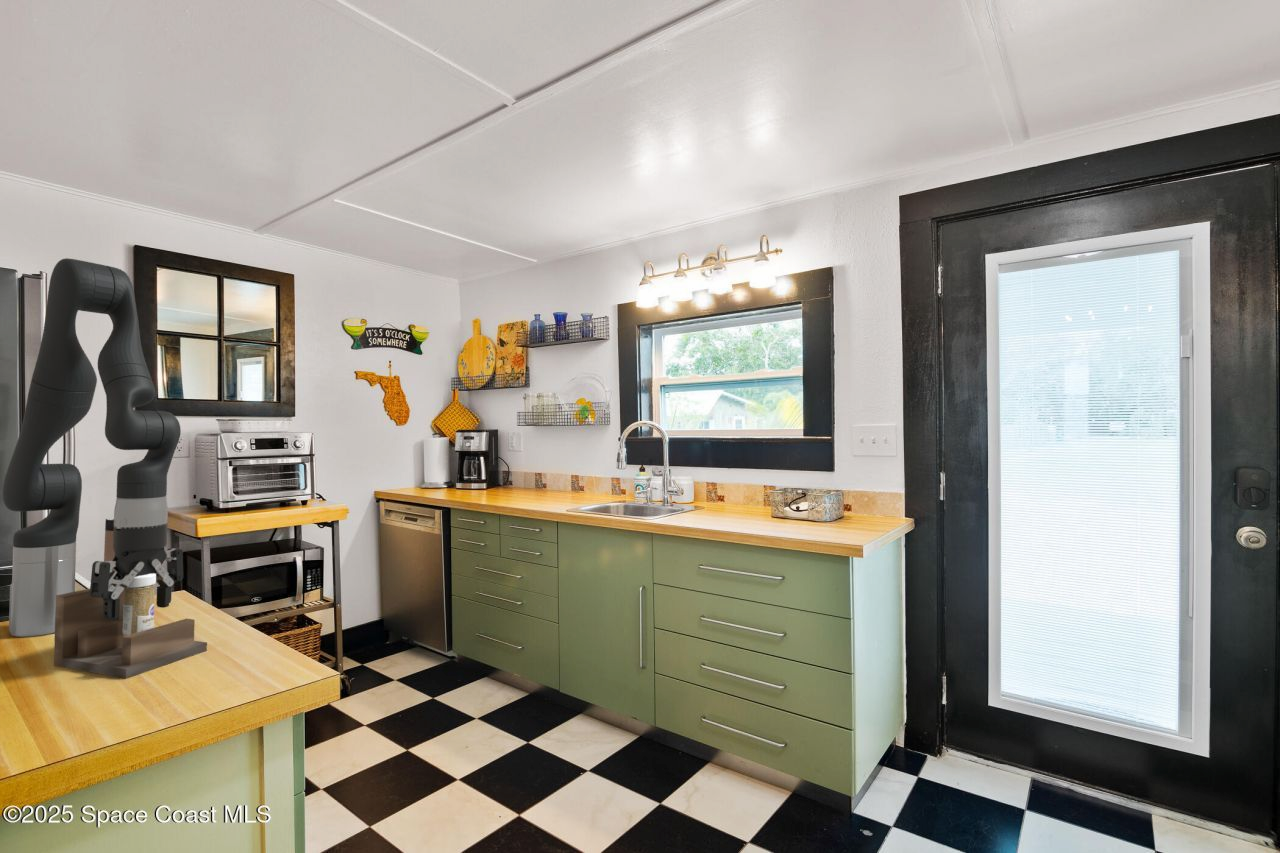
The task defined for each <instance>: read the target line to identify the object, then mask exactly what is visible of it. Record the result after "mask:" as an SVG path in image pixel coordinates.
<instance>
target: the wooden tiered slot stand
mask: <svg viewBox="0 0 1280 853" xmlns="http://www.w3.org/2000/svg"><path fill="white" fill-rule="evenodd" d="M124 591H125V590H123V591H122V592H121V594H120V595H119V597H118V599H120V611H119V619H118V620H116V621H109V620H106V618H104V616H103V599H102V598H98V597H91V596H90V588H86V589H82V590H81V589H80V590H75V592H70V593H66V594H61V595H56V610H55V633H54V646H53V648H54V649H53V650H54V651H53V652H54V653H53V654H54V655H53V666H54V667H61V668H66V669H70V670H76V671H83V672H88V673H93V674H98V675H105V676H110V677H116V678H121V679H129V678H131V677H135V676H137V675H138V676H139V675H140V674H143V673H145V672H149V671H152V670H154V669H157V668H162V667H163V666H166V665H169V664H172V663H175V662H178V661H181V660H184V659H186V658H190V657H192V656H195V655H198V654H200V653H204V652H206V651H207V650H208V649H207V648H208V642H205V641H199V640H195V619H191V618H184V619H179V620H176V621H173V622H169V623H166V624H163V625H159V626H154V628H152V629H148V630H145V631H141V632H138V633H134V634H131V635H127V636H124V637H123V605H124Z"/></svg>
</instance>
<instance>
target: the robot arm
mask: <svg viewBox="0 0 1280 853" xmlns="http://www.w3.org/2000/svg"><path fill="white" fill-rule="evenodd" d="M136 303H137V302H136V297H135V291H134V286H133V283H132V281H131V277H129V275H128V273H127V272H125V271H124V270H122V269H121V268H117V267H114V266H109V265H105V264H100V263H95V262H90V261H84V260H81V259H80V260H79V259H75V258H62V259H60V260H59V261H58V262H57V263H56V264H55V265H54V268H53V269H52V272H51V275H50V279H49V286H48V292H47V301H46V308H45V317H44V324H43V325H44V326H43V332H42V336H41V341H40V346H39V351H38V355H37V358H36V362H35V365H34V369H33V373H32V376H31V379H30V384H29V389H28V394H27V399H26V404H25V410H24V415H23V419H22V424H21V428H20V432H19V435H18V439H17V442H16V445H15V447H14V449H13V450H14V451H13V452H12V456H11V458H10V461H9V464H8V467H7V470H6V473H5V477H4V480H3V486H2V502H3V505H4V506H5V507H6V508H7V509H8V510H10V511H12V512H37V511H38V512H39V511H49V513H48V514H47V516H46V517H44V518H43V519H42V520H40V521H38V522H35V523H34V524H32V525H29V526H25V527H23V528H21V529H17V531H16V532H14V534H13V536H12V538H13V539H12V574H11V576H12V580H11V583H10V584H9V585H10V586H9V616H8V632H9V633H10V636H12V637H20V638H22V637H34V636H35V637H36V636H43V635H44V636H45V635H51V634H53V633H54V634H55V610H56V595H61V594H66V593H70V592H75V591H76V560H77V558H76V557H77V556H76V555H77V554H76V552H77V533H78V528H79V524H80V509H81V508H80V507H81V499H82V489H83V485H82V484H83V481H82V475H81V472H80V470H79V468H78V467H77V466H76V465H75V464H71V463H43V461H44V459H45V456H46V455H47V454H48V452H49V450H50V449H51V448H52V447H53V445H54V444H55V443H57V441H59V440H60V439H61V438H62V437H64V436H65V435H66V434H67V433H68V432H70V431H71V430H72V429H73V428H74V427H76V425H77V424H78V423H80V422H81V421H82V420H83V419H84V418H85V417H86V416H87V415H88V413H89V412H90V409H91V407H92V403H93V400H94V396H95V393H96V387H97V383H98V379H97V374H96V371H95V368H94V366H93V365H92V363H91V361H90V359H89V357H88V356H87V354H86V352H85V350H84V349H83V347H82V346H81V343H80V341H79V338H78V336H77V329H76V328H77V327H76V319H77V315H78V312H79V311H81V312H86V313H87V312H88V313H95V314H103V315H108V316H109V318H110V319H111V323H112V331H111V332H110V334H109V336H108V338H107V340H106V341H105V343H104V345H103V346H102V348H101V350H100V351H99V353H98V358H97V371H98V374H99V377H100V381H101V384H102V387H103V390H104V392H105V396H106V398H105V400H106V414H105V416H106V417H105V424H104V435H105V438H106V440H107V441H108V442H109V444H110V445H111V446H113V447H114V448H116V449H118V450H121V451H135V450H136V451H138V450H139V451H140V450H141V451H146V450H147V452H146V454H145V456H144V458H142V459H141V460H139V461H136V462H132V463H131V462H130V463H126V464H123V465H122V466H120V467H119V468H118V470H117V475H116V499H115V505H114V510H113V519H114V531H113V549H114V552H115V556H114V558H113V560H112V561H105V562H104V560H103V561H101V560H95V561H94V562H93V563H92V565H91V575H90V577H91V578H90V588H89V589H90V596H91V597H98V598H102V599H103V616H104V618H106V620H109V621H116V620H118V619H119V611H120V599H118V597H119V595H120V594H121V592H122V591H123V590H124V588H126V587H128V586H129V584H130V583H131V582H132V580H133V579H134V577H137V576H142V575H147V574H152V573H155V574H156V584H157V585H158V586H156V607H157V608H168V607H170V604H171V601H172V592H173V591H172V588H173V585H174V584H175V583H176V582H180V581H182V580H183V579H184V555H183V554H184V552H183V551H184V550H183V549H180V548H172V547H171V548H168V549H167V550H165V548H166V546H167V544H168V515H169V514H168V512H169V507H168V501H167V500H168V499H167V495H168V494H167V492H168V490H167V489H168V472H169V469H170V466H171V463H172V460H173V458H174V454H175V452H176V450H177V448H178V447H177V446H178V445H179V441H180V438H181V424H180V421H179V420H178V417H177V416H176V415H175V414H173V413H172V412H169V411H163V410H141V409H139V410H136V409H134V408H138V407H139V408H140V407H142V406H145V405H148V404H150V403H151V402H152V401H153V400H154V399H155V396H156V388H155V386H154V383H153V379H152V376H151V373H150V371H149V368H148V365H147V363H146V359H145V356H144V355H145V354H144V351H143V347H142V342H141V334H140V332H141V331H140V326H139V325H140V324H139V317H138V312H137V311H138V308H137V304H136ZM165 561H166V563H167V564H166V568H165V567H164V566H163V564H164V562H165ZM113 568H114V569H115V570H116V571H115V573H114V574H113V576H112V577H111V578H110V580H109V575H110V573H111V572H112V571H113V570H112V569H113ZM121 577H122V578H123V579H122V580H120V579H121Z"/></svg>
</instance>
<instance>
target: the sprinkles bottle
mask: <svg viewBox="0 0 1280 853" xmlns="http://www.w3.org/2000/svg"><path fill="white" fill-rule="evenodd" d="M156 584H157V582H156V574H155V573H152V574H147V575H142V576H137V577H134V579H133V580H132V582H131V583H130V584H129V586H128V587H126V588H124V590H125V591H124V605H123V637H124V636H127V635H131V634H134V633H138V632H141V631H145V630H148V629H152V628H155V587H156Z"/></svg>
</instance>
